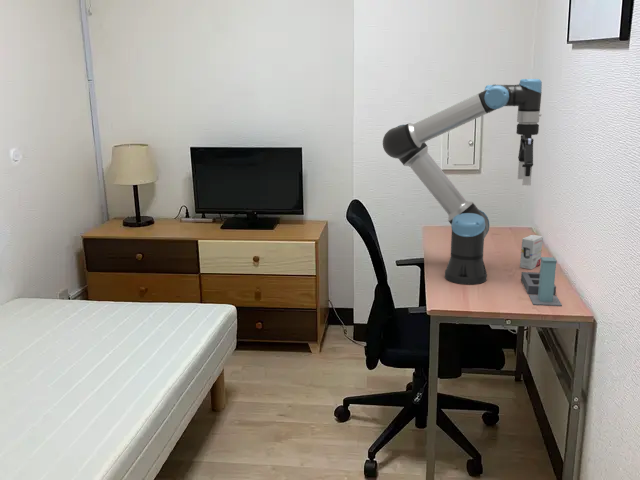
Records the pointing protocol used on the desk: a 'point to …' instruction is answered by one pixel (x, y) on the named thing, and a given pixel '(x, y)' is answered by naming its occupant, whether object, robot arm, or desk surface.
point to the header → (532, 282)
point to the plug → (547, 279)
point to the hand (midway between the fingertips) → (523, 182)
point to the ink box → (531, 251)
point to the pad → (536, 302)
